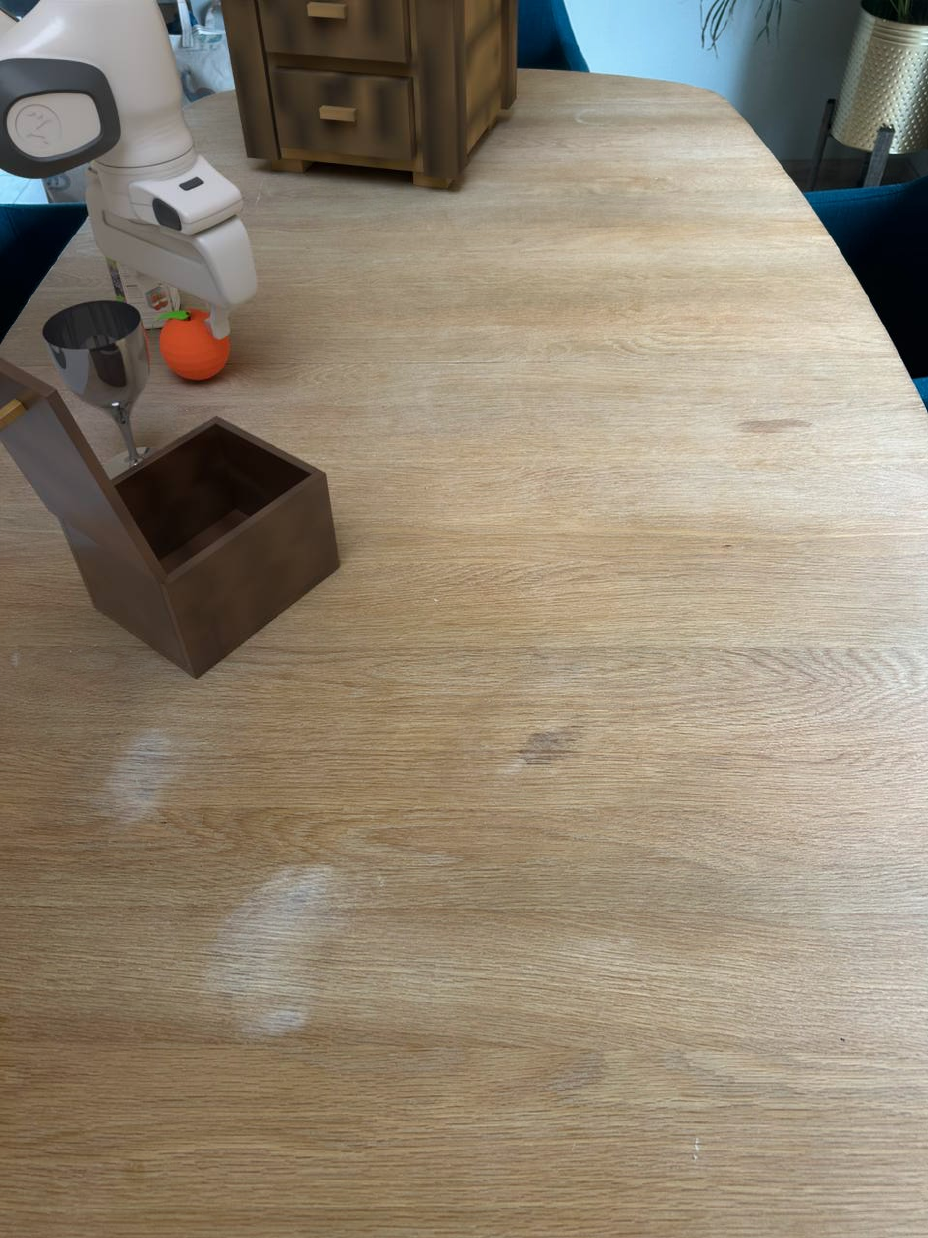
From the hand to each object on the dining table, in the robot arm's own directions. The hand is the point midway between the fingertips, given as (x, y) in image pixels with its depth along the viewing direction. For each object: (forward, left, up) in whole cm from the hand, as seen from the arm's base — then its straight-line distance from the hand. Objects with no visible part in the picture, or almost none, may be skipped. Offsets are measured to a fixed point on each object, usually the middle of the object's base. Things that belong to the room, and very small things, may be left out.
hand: (188, 320), depth 100 cm
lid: (+26, -29, +12) cm, 41 cm away
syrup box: (-13, +5, -6) cm, 15 cm away
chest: (+26, -20, -6) cm, 33 cm away
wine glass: (+8, -14, -6) cm, 18 cm away
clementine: (0, 0, -6) cm, 6 cm away
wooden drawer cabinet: (-25, +58, -6) cm, 63 cm away
